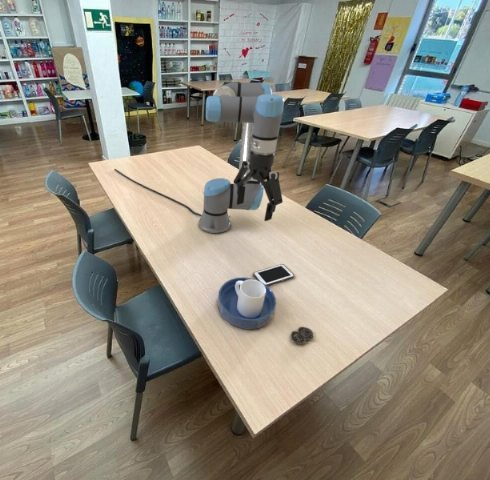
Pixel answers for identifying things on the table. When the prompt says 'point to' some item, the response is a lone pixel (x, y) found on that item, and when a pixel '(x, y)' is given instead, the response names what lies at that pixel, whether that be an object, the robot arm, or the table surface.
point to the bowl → (231, 313)
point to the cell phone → (273, 274)
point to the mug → (250, 297)
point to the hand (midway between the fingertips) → (253, 211)
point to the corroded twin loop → (302, 335)
